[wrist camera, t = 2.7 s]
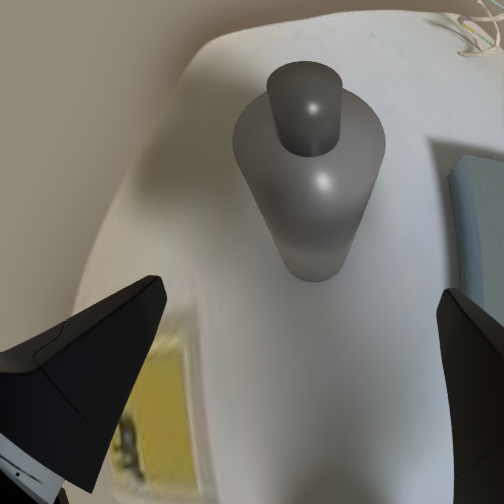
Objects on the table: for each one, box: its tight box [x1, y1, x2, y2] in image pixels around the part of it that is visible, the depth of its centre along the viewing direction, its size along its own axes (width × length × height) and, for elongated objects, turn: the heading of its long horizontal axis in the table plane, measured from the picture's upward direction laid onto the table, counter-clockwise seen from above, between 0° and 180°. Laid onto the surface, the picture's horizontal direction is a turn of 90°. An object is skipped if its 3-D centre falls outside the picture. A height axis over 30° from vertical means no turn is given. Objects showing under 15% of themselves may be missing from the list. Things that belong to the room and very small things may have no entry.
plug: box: [233, 61, 386, 282], centre depth 13 cm, size 4×4×15 cm
